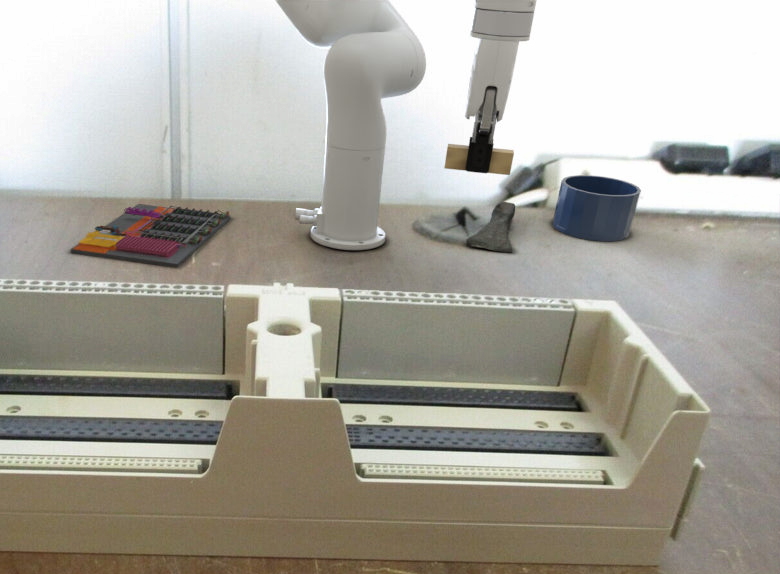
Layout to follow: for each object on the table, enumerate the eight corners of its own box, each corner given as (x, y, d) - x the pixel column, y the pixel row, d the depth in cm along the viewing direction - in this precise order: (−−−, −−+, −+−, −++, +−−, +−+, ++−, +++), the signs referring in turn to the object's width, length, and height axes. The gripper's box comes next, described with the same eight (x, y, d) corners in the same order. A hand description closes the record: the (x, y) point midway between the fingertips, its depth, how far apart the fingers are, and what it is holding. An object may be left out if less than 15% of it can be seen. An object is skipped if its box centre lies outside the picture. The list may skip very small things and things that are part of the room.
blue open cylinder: (556, 236, 134) (566, 191, 130) (549, 214, 146) (558, 172, 142) (635, 244, 132) (647, 199, 128) (621, 221, 144) (633, 179, 140)
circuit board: (177, 267, 115) (177, 250, 113) (71, 252, 118) (69, 235, 117) (230, 218, 136) (230, 203, 134) (138, 206, 139) (137, 191, 138)
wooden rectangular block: (444, 168, 107) (447, 146, 106) (444, 165, 109) (448, 143, 108) (509, 175, 106) (514, 153, 104) (509, 171, 108) (513, 149, 106)
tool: (509, 261, 126) (514, 244, 125) (463, 250, 128) (467, 234, 126) (522, 214, 142) (527, 198, 140) (481, 205, 144) (485, 189, 142)
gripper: (472, 18, 105) (452, 153, 115) (470, 29, 92) (447, 181, 101) (528, 22, 104) (503, 158, 113) (534, 33, 91) (504, 187, 100)
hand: (476, 168), depth 107 cm, fingers closed on wooden rectangular block, 2 cm apart
